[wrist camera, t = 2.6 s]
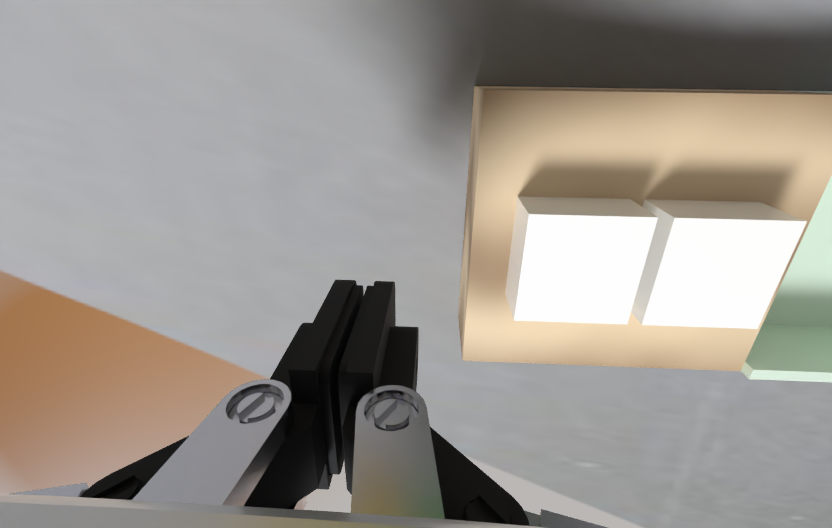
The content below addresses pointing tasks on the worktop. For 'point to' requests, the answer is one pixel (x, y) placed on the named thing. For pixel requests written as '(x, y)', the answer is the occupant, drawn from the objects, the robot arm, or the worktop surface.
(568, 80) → the worktop surface
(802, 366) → the bin
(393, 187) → the worktop surface
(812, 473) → the worktop surface
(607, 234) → the tile
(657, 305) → the tile
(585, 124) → the oak plate
